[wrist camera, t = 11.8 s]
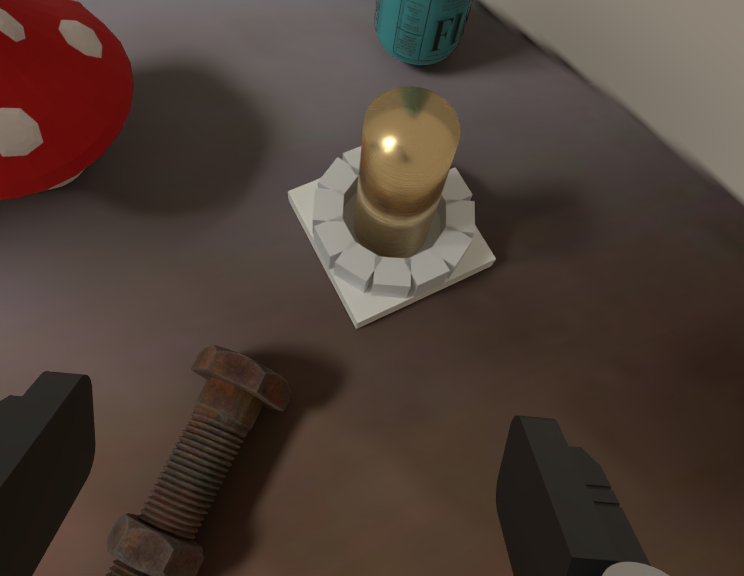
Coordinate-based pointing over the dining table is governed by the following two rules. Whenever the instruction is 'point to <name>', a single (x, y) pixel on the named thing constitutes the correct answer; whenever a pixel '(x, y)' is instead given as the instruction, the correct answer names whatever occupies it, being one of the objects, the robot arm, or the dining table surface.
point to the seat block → (387, 274)
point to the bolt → (196, 466)
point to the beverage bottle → (421, 28)
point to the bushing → (403, 169)
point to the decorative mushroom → (57, 93)
